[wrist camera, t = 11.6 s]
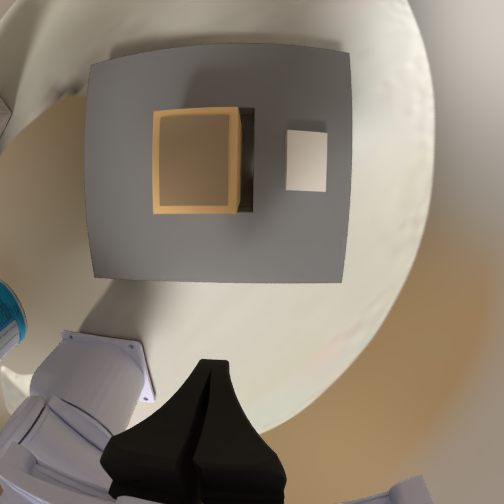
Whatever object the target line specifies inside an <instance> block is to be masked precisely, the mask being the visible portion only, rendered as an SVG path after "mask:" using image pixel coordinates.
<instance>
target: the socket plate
mask: <svg viewBox="0 0 504 504" xmlns="http://www.w3.org/2000/svg"><path fill="white" fill-rule="evenodd" d="M206 107H238V109H239V114H240V115H254V165H253V207H238V209H237V213H236V214H153V191H152V142H153V115H154V111H163V110H174V109H187V108H206ZM351 170H352V91H351V71H350V57H349V53H346V52H340V51H334V50H328V49H321V48H314V47H305V46H295V45H283V44H263V43H225V44H206V45H193V46H184V47H175V48H168V49H161V50H154V51H149V52H143V53H138V54H133V55H128V56H124V57H119V58H115V59H111V60H107V61H104V62H100V63H96V64H93V65H91V67H90V74H89V81H88V90H87V100H86V112H85V130H84V184H85V185H84V186H85V187H84V188H85V205H86V217H87V227H88V236H89V245H90V251H91V259H92V265H93V271H94V277H95V278H111V279H130V280H152V281H179V282H216V283H342V276H343V269H344V260H345V251H346V242H347V232H348V220H349V207H350V192H351Z"/></svg>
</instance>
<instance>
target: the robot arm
mask: <svg viewBox="0 0 504 504" xmlns="http://www.w3.org/2000/svg"><path fill="white" fill-rule="evenodd" d="M61 336H62V339H63V340H62V341H61V343H59V345H58V346H57V347H56V348H55V349H54V350H53V351H52V352H51V354H50V355H49V356H48V357H47V358H46V359H45V360H44V361H43V363H42V364H41V365H40V366H39V367H38V368H37V370H36V371H35V372H34V374H33V377H32V380H31V384H30V396H29V397H27V398H26V399H25V400H24V401H23V402H22V404H21V405H20V406H19V407H18V408H17V409H16V411H15V412H14V413H13V414H12V416H11V417H10V418H9V420H8V421H7V423H6V424H5V425H4V427H3V429H2V430H1V432H0V484H1V486H2V488H3V490H4V492H3V493H2V495H1V496H0V504H284V488H285V485H286V474H285V471H284V468H283V466H282V464H281V462H280V460H279V458H278V456H277V454H276V453H275V452H274V451H273V450H272V449H271V448H270V447H269V446H268V445H267V444H266V443H265V442H264V441H263V439H262V438H261V437H260V436H259V434H258V433H257V432H256V430H255V429H254V427H253V426H252V425H251V423H250V422H249V420H248V418H247V417H246V415H245V413H244V411H243V410H242V408H241V406H240V403H239V401H238V399H237V397H236V394H235V392H234V388H233V385H232V382H231V379H230V374H229V362H228V361H227V360H210V359H201V360H200V361H199V362H198V364H197V365H196V367H195V369H194V370H193V372H192V373H191V374H190V376H189V377H188V378H187V380H186V381H185V382H184V384H183V385H182V386H181V387H180V388H179V390H178V391H177V392H176V393H175V394H174V395H173V396H172V397H171V398H170V399H169V400H168V401H167V402H166V403H165V404H164V405H163V406H162V407H161V408H159V409H158V410H157V411H156V412H154V413H153V414H152V415H151V416H149V417H148V418H146V419H145V420H143V421H142V422H140V423H139V424H137V425H135V426H134V427H132V428H130V429H128V430H126V428H127V426H128V423H129V421H130V419H131V416H132V414H133V411H134V409H135V406H136V404H137V402H138V400H139V401H145V402H152V403H153V402H155V395H154V391H153V388H152V384H151V381H150V377H149V373H148V369H147V365H146V361H145V357H144V353H143V348H142V345H141V343H140V342H138V341H132V340H124V339H116V338H109V337H102V336H96V335H90V334H84V333H78V332H72V331H66V330H63V331H62V332H61ZM72 336H73V337H72ZM131 345H132V346H133V347H132V346H131ZM338 504H434V503H433V501H432V498H431V496H430V494H429V491H428V489H427V487H426V484H425V482H424V480H423V478H422V475H418V476H415V477H412V478H410V479H407V480H404V481H401V482H399V483H397V484H395V485H393V486H392V487H391V488H390V490H389V491H387V492H384V493H380V494H377V495H373V496H369V497H365V498H361V499H357V500H352V501H348V502H343V503H338Z"/></svg>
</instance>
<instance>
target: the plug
mask: <svg viewBox="0 0 504 504" xmlns="http://www.w3.org/2000/svg"><path fill="white" fill-rule="evenodd" d="M241 170H242V124H241V119H240V114H239V109H238V107H206V108H187V109H174V110H163V111H154V115H153V142H152V191H153V214H236V213H237V209H238V206H239V203H240V200H241Z"/></svg>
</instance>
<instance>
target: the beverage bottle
mask: <svg viewBox="0 0 504 504" xmlns="http://www.w3.org/2000/svg"><path fill="white" fill-rule="evenodd" d="M26 333H27V320H26V316H25V313H24V310H23V308H22V305H21V303H20V301H19V299H18V298H17V296H16V295H15V293H14V292H13V290H12V289H11V288H10V287H9V286H8V285H7V284H6V283H5V282H3V281H2V280H0V361H1V360H2V359H3V358H4V357H5V356H6V355H7V354H8V353H9V352H10V351H11V350H12V349H13V348H14V347H15V346H16V345H17V344H19V343H20V342H21V341H22V340H23V339H24V338H25V336H26Z"/></svg>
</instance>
